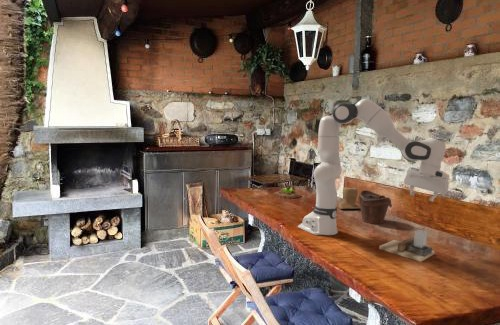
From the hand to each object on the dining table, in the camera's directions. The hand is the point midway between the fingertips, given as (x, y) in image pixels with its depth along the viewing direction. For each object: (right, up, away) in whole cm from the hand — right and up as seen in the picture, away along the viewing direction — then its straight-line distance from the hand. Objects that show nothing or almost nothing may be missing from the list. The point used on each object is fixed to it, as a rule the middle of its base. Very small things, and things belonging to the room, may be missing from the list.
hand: (421, 198), depth 177 cm
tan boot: (-15, -15, +77) cm, 80 cm away
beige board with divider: (-9, -25, -4) cm, 27 cm away
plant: (-55, -10, +113) cm, 125 cm away
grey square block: (-5, -24, -9) cm, 26 cm away
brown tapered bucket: (-8, -19, +46) cm, 51 cm away
